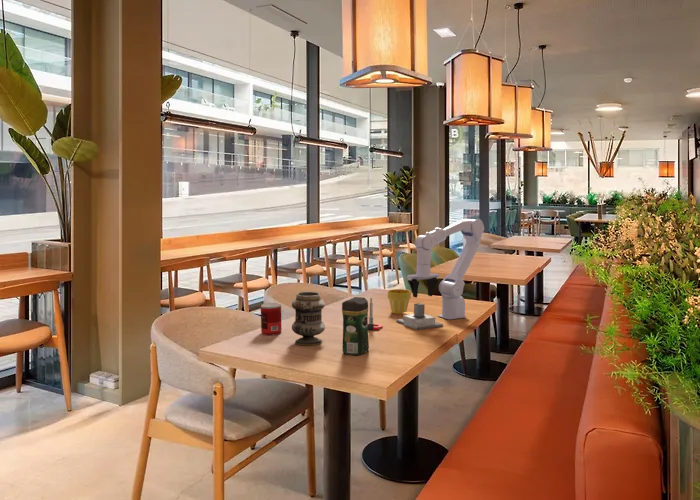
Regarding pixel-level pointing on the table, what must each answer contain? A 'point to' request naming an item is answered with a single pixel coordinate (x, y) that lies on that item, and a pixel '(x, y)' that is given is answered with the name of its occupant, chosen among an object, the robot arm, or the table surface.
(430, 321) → the bracket fixture
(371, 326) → the tow hook
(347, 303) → the coffee jar
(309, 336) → the apothecary jar
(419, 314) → the pin
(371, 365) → the table surface
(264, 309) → the canned food
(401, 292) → the plant pot
